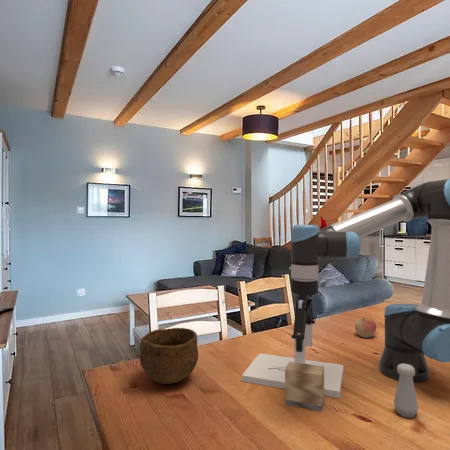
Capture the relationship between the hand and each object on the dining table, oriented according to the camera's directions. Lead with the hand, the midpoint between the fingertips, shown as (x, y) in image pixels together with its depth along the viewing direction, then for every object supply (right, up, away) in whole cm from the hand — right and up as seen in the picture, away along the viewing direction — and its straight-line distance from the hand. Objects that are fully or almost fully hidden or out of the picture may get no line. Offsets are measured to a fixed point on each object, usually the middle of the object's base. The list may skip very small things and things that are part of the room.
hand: (303, 353), depth 99 cm
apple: (+40, -13, +56) cm, 70 cm away
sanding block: (0, -14, 0) cm, 14 cm away
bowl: (-40, -14, +14) cm, 45 cm away
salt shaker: (+26, -14, -6) cm, 30 cm away
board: (+1, -14, +17) cm, 22 cm away
